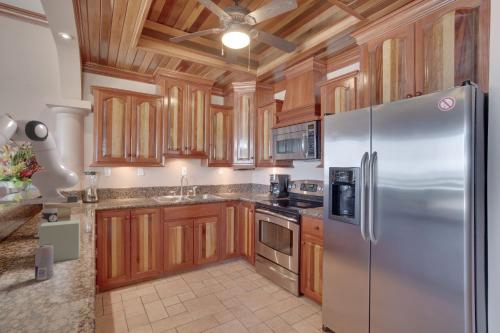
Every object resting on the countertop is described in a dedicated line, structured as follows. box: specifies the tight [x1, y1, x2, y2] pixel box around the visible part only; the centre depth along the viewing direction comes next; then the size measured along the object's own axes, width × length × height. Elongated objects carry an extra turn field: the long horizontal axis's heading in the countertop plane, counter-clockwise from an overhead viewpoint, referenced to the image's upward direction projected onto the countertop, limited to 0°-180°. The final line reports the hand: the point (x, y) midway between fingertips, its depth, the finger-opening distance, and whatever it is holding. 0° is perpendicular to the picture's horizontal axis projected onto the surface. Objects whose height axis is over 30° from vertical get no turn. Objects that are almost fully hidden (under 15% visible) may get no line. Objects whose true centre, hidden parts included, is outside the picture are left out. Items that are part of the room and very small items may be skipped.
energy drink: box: [34, 244, 54, 282], centre depth 96 cm, size 5×5×12 cm
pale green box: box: [38, 219, 81, 263], centre depth 116 cm, size 8×14×16 cm, turn 120°
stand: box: [44, 199, 83, 252], centre depth 126 cm, size 10×14×24 cm
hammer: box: [18, 194, 79, 206], centre depth 123 cm, size 7×22×3 cm, turn 120°
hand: (20, 190), depth 118 cm, fingers open, 8 cm apart
